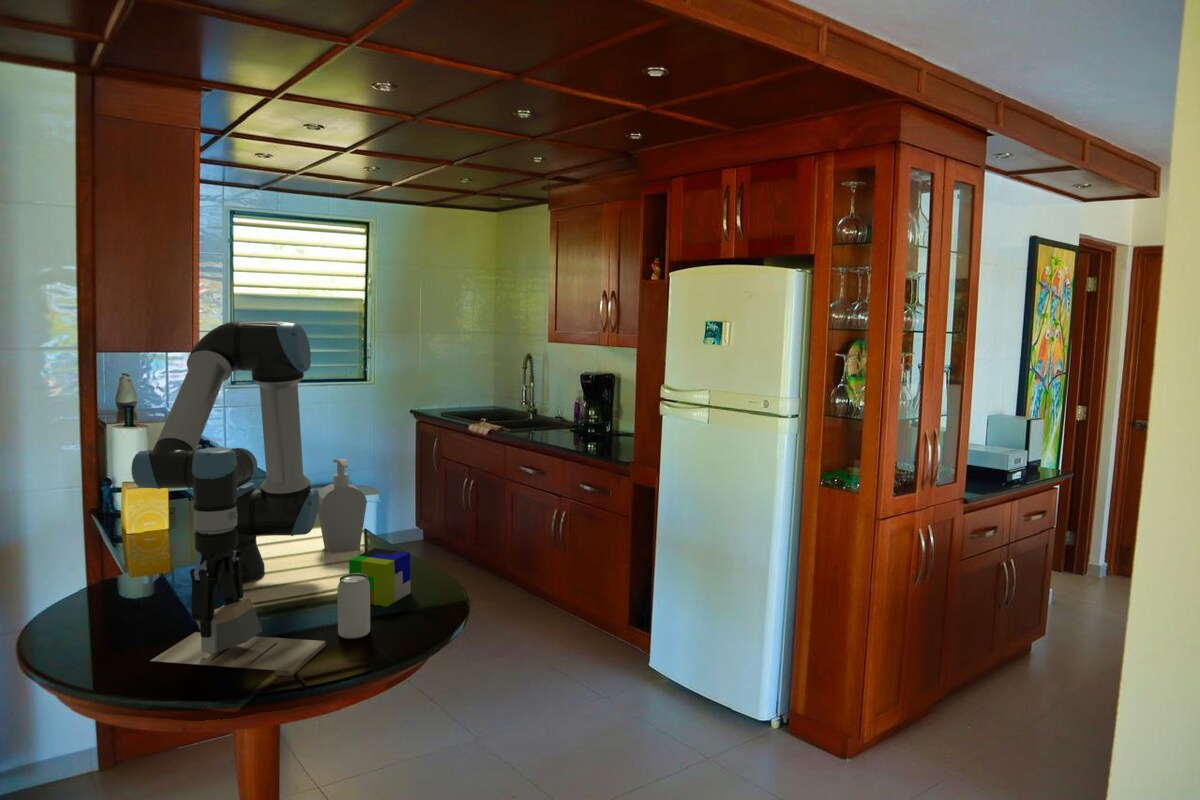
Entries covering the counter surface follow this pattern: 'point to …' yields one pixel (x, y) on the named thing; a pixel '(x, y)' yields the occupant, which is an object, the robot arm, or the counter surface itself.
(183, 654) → the board
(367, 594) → the can
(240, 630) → the block
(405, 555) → the puzzle toy
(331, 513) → the soap bottle
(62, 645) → the counter surface
